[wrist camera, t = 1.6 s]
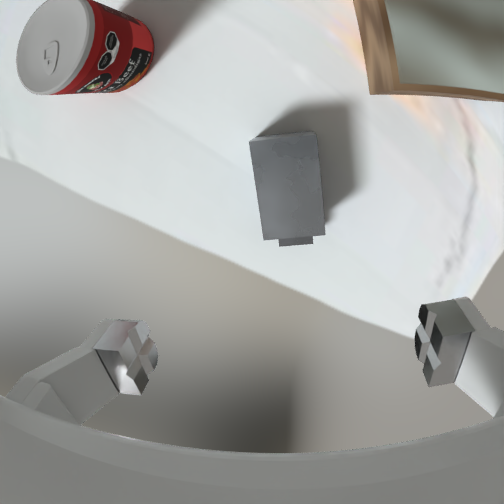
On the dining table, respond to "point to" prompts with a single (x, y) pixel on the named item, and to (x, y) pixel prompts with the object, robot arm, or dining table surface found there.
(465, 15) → the stand
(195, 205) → the dining table surface
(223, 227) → the dining table surface
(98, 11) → the canned food
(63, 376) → the robot arm
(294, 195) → the block
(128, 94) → the dining table surface
